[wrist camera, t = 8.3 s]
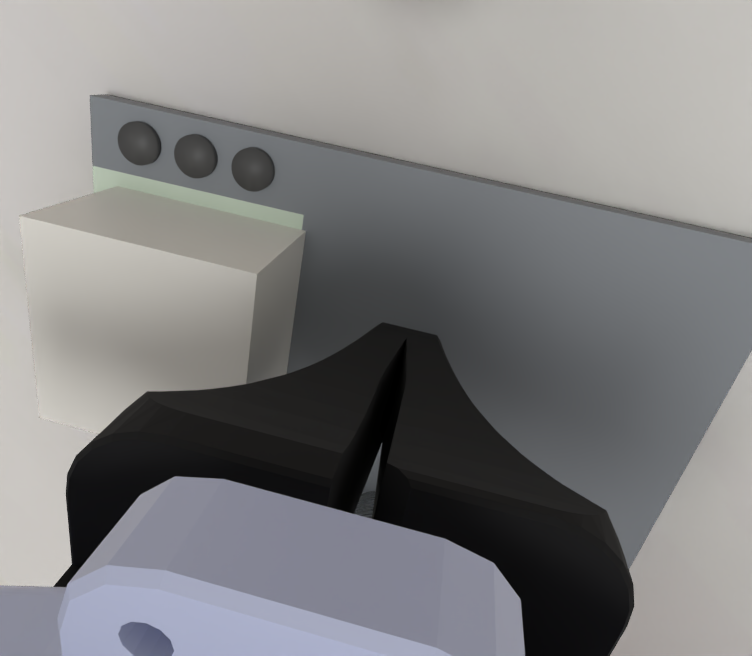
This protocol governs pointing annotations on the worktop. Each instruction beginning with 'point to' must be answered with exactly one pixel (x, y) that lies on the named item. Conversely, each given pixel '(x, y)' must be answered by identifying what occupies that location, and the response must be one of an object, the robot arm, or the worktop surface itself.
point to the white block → (152, 301)
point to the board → (483, 291)
